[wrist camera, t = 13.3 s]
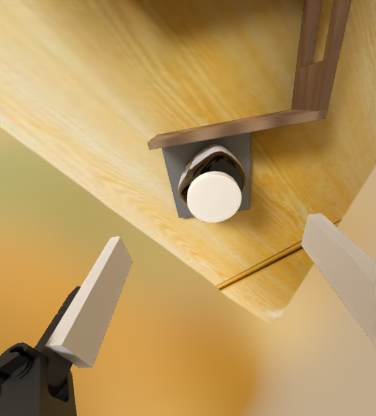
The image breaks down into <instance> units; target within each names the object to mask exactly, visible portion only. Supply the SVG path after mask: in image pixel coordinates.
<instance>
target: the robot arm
mask: <svg viewBox="0 0 376 416" xmlns="http://www.w3.org/2000/svg"><path fill="white" fill-rule="evenodd" d="M301 246H302V247H303V248H304V250H305V251H306V252H307V254H308V255H309V257H310V258H311V259H312V261H313V262H314V263H315V265H316V266H317V267H318V269H319V270H320V272H321V273H322V274H323V276H324V277H325V278H326V280H327V281H328V282H329V284H330V285H331V287H332V288H333V289H334V291H335V292H336V293H337V295H338V296H339V298H340V299H341V300H342V302H343V303H344V304H345V306H346V307H347V308H348V310H349V311H350V313H351V314H352V315H353V317H354V318H355V319H356V321H357V322H358V323H359V325H360V326H361V328H362V329H363V330H364V332H365V333H366V334H367V336H368V337H369V339H370V340H371V341H372V343H373V344H374V345H375V346H376V262H375V261H374V260H373V259H372V258H371V257H369V256H368V255H367V254H366V253H365V252H364V251H363V250H362V249H361V248H359V247H358V246H357V245H356V244H355V243H354V242H353V241H351V239H349V238H348V237H347V236H346V235H345V234H344V233H343V232H342V231H341V230H339V229H338V228H337V227H336V226H335V225H334V224H333V223H332V222H330V221H329V220H328V219H327V218H326V217H325V216H324V215H323V214H322V213H317V214H308V218H307V222H306V226H305V230H304V234H303V238H302V242H301ZM132 263H133V260H132V258H131V256H130V254H129V252H128V251H127V249H126V247H125V245H124V243H123V241H122V239H121V237H113V238H110V240H109V241H108V243H107V245H106V246H105V248H104V250H103V251H102V253H101V255H100V256H99V258H98V260H97V261H96V263H95V265H94V266H93V268H92V269H91V271H90V273H89V274H88V276H87V278H86V280H85V281H84V283H83V284H82V286H79V287H76V288H75V289H74V290H73V291H72V292H71V293H70V294H69V295H68V297H67V299H66V300H65V302H64V303H63V306H62V307H61V308H60V309H59V311H58V314H56V316H55V317H54V319H53V320H52V322H51V323H50V325H49V326H48V328H47V330H46V331H45V333H44V334H43V336H42V337H41V339H40V341H39V342H38V344H37V345H36V346H35V348H32V347H30V346H29V345H27V344H25V343H17V344H16V345H14V346H12V347H10V348H9V349H7V350H6V351H5V352H4V353H3V354H2V355H1V356H0V416H77V415H76V405H75V397H74V387H73V379H72V373H71V371H70V368H71V366H72V364H74V365H76V366H77V367H82V368H83V367H93V365H94V363H95V360H96V357H97V355H98V352H99V349H100V347H101V344H102V342H103V339H104V336H105V334H106V331H107V328H108V326H109V323H110V320H111V318H112V315H113V313H114V310H115V307H116V305H117V302H118V299H119V297H120V294H121V292H122V289H123V286H124V283H125V281H126V278H127V276H128V273H129V271H130V268H131V265H132Z"/></svg>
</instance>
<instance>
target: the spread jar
mask: <svg viewBox="0 0 376 416" xmlns="http://www.w3.org/2000/svg"><path fill="white" fill-rule="evenodd" d="M246 181H247V178H246V174H245V171H244V169H243V167H242V166H241V164H240V163H239V161H238V160H237V159H236V157H235V156H234V155H233V154H232V153H231V152H230V151H229V150H227V149H226V148H225V147H223V146H221V145H218V144H213V145H210V146H208V147H206V148H204V149H203V150H201V151H200V152H199V153H197V154H196V155H195V156H194V157H193V158H192V159H191V161H190V162H189V163H188V165H187V166H186V168H185V170H184V171H183V173H182V175H181V178H180V182H179V186H178V194H179V197H180V199H181V200H182V202H183V203H184V204H185V205H186V206H187V207H188V208H189V210H190V212H191V213H192V214H193V215H194V216H195V217H196V218H198V219H199V220H202V221H204V222H210V223H215V222H221V221H224V220H227V219H228V218H230V217H232V216H233V215H234V214H235V213H236V212H237V210H238V209H239V207H240V204H241V200H242V195H241V194H242V192H243V190H244V188H245V186H246Z"/></svg>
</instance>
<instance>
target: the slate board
mask: <svg viewBox="0 0 376 416" xmlns="http://www.w3.org/2000/svg"><path fill="white" fill-rule="evenodd" d="M213 144H218V145H221V146H223V147H225V148H226V149H227V150H229V151H230V152H231V153H232V154H233V155H234V156H235V157H236V159H237V160H238V161H239V163H240V164H241V166H242V167H243V169H244V171H245V174H246V178H247V181H246V186H245V188H244V190H243V192H242V194H241V195H242V200H241V204H240V207H239V209H238V210H237V211H240V210H248V209H250V151H251V132H247V133H242V134H236V135H230V136H225V137H219V138H214V139H208V140H202V141H197V142H191V143H186V144H180V145H174V146H169V147H163V148H162V151H163V155H164V159H165V163H166V167H167V171H168V175H169V179H170V183H171V187H172V191H173V195H174V200H175V204H176V208H177V212H178V216H179V218H183V217H191V216H194V215H193V214H192V213H191V212H190V210H189V208H188V207H187V206H186V205H185V204H184V203H183V202H182V200H181V199H180V197H179V194H178V186H179V182H180V178H181V175H182V173H183V171H184V170H185V168H186V166H187V165H188V163H189V162H190V161H191V159H192V158H193V157H194V156H195V155H196V154H197V153H199V152H200V151H201V150H203V149H204V148H206V147H208V146H210V145H213Z"/></svg>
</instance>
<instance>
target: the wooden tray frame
mask: <svg viewBox="0 0 376 416" xmlns="http://www.w3.org/2000/svg"><path fill="white" fill-rule="evenodd" d="M321 3H322V0H304V8H303V16H302V25H301V33H300V41H299V50H298V58H297V66H296V75H295V83H294V91H293V100H292V108H291V110H286V111H281V112H276V113H270V114H265V115H260V116H255V117H249V118H244V119H239V120H233V121H228V122H223V123H217V124H212V125H207V126H202V127H196V128H191V129H186V130H180V131H175V132H170V133H164V134H159V135H156V136H155V137H154V138H153V139H151V140H150V141H149V142H147V143H148V147H149V150H152V149H158V148H163V147H169V146H174V145H180V144H186V143H191V142H197V141H202V140H208V139H214V138H219V137H225V136H230V135H236V134H242V133H247V132H253V131H259V130H264V129H270V128H275V127H281V126H287V125H292V124H298V123H303V122H309V121H315V120H320V119H326V115H327V110H328V105H329V101H330V96H331V91H332V87H333V82H334V78H335V73H336V68H337V64H338V59H339V54H340V50H341V45H342V41H343V36H344V31H345V27H346V22H347V17H348V13H349V8H350V3H351V0H334V2H333V8H332V13H331V19H330V24H329V30H328V35H327V41H326V46H325V52H324V58H323V60H322V61H320V62H317V63H314V64H312V61H313V54H314V48H315V42H316V35H317V29H318V22H319V16H320V10H321Z"/></svg>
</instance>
